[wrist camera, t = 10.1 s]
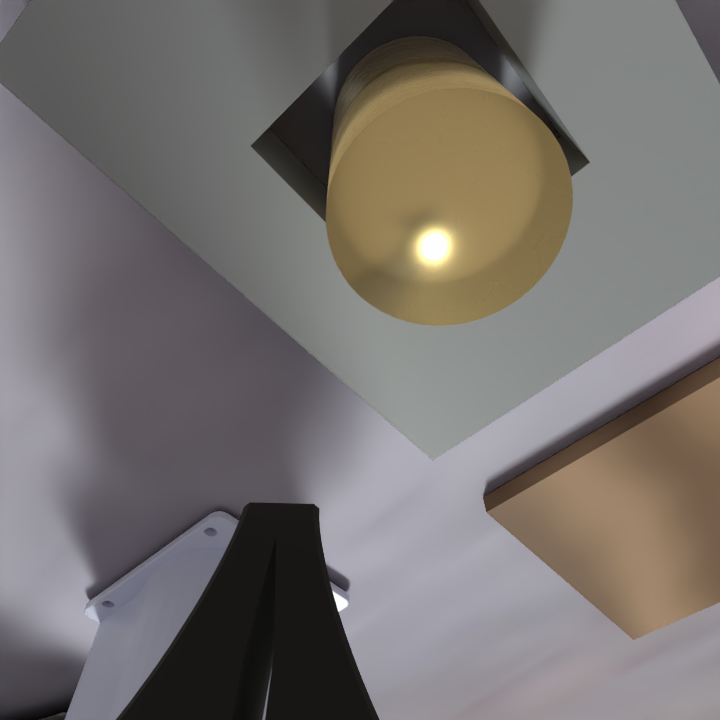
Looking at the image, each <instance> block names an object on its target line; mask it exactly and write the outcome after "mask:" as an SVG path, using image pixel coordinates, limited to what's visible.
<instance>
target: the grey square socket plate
mask: <svg viewBox="0 0 720 720" xmlns="http://www.w3.org/2000/svg"><path fill="white" fill-rule="evenodd" d="M392 1H393V0H31V1H30V2H29V3H28V5H27V6H26V8H25V9H24V11H23V12H22V13H21V15H20V16H19V18H18V19H17V20H16V22H15V23H14V25H13V26H12V28H11V29H10V30H9V32H8V33H7V35H6V36H5V38H4V39H3V40H2V42H1V43H0V83H1V84H2V85H3V86H4V87H6V88H7V89H8V90H9V91H10V92H11V93H13V94H14V95H15V96H16V97H17V98H18V99H19V100H21V101H22V102H23V103H24V104H25V105H26V106H27V107H29V108H30V109H31V110H32V111H33V112H34V113H35V114H37V115H38V116H39V117H40V118H41V119H42V120H43V121H45V122H46V123H47V124H48V125H49V126H50V127H51V128H53V129H54V130H55V131H56V132H57V133H58V134H59V135H61V136H62V137H63V138H64V139H65V140H66V141H67V142H69V143H70V144H71V145H72V146H73V147H74V148H75V149H77V150H78V151H79V152H80V153H81V154H82V155H83V156H85V157H86V158H87V159H88V160H89V161H90V162H91V163H93V164H94V165H95V166H96V167H97V168H98V169H100V170H101V171H102V172H103V173H104V174H105V175H106V176H108V177H109V178H110V179H111V180H112V181H113V182H114V183H116V184H117V185H118V186H119V187H120V188H121V189H122V190H124V191H125V192H126V193H127V194H128V195H129V196H130V197H132V198H133V199H134V200H135V201H136V202H137V203H138V204H140V205H141V206H142V207H143V208H144V209H145V210H146V211H148V212H149V213H150V214H151V215H152V216H153V217H154V218H156V219H157V220H158V221H159V222H160V223H161V224H162V225H164V226H165V227H166V228H167V229H168V230H169V231H170V232H172V233H173V234H174V235H175V236H176V237H177V238H179V239H180V240H181V241H182V242H183V243H184V244H185V245H187V246H188V247H189V248H190V249H191V250H192V251H193V252H195V253H196V254H197V255H198V256H199V257H200V258H201V259H203V260H204V261H205V262H206V263H207V264H208V265H209V266H211V267H212V268H213V269H214V270H215V271H216V272H217V273H219V274H220V275H221V276H222V277H223V278H224V279H225V280H227V281H228V282H229V283H230V284H231V285H232V286H233V287H235V288H236V289H237V290H238V291H239V292H240V293H241V294H243V295H244V296H245V297H246V298H247V299H248V300H249V301H251V302H252V303H253V304H254V305H255V306H256V307H257V308H259V309H260V310H261V311H262V312H263V313H264V314H266V315H267V316H268V317H269V318H270V319H271V320H272V321H274V322H275V323H276V324H277V325H278V326H279V327H280V328H282V329H283V330H284V331H285V332H286V333H287V334H288V335H290V336H291V337H292V338H293V339H294V340H295V341H296V342H298V343H299V344H300V345H301V346H302V347H303V348H304V349H306V350H307V351H308V352H309V353H310V354H311V355H312V356H314V357H315V358H316V359H317V360H318V361H319V362H320V363H322V364H323V365H324V366H325V367H326V368H327V369H328V370H330V371H331V372H332V373H333V374H334V375H335V376H336V377H338V378H339V379H340V380H341V381H342V382H343V383H344V384H346V385H347V386H348V387H349V388H350V389H351V390H353V391H354V392H355V393H356V394H357V395H358V396H359V397H361V398H362V399H363V400H364V401H365V402H366V403H367V404H369V405H370V406H371V407H372V408H373V409H374V410H375V411H377V412H378V413H379V414H380V415H381V416H382V417H383V418H385V419H386V420H387V421H388V422H389V423H390V424H391V425H393V426H394V427H395V428H396V429H397V430H398V431H399V432H401V433H402V434H403V435H404V436H405V437H406V438H407V439H409V440H410V441H411V442H412V443H413V444H414V445H415V446H417V447H418V448H419V449H420V450H421V451H422V452H423V453H425V454H426V455H427V456H428V457H429V458H430V459H431V460H434V459H436V458H437V457H439V456H441V455H442V454H444V453H445V452H447V451H448V450H450V449H451V448H453V447H455V446H456V445H458V444H459V443H461V442H462V441H464V440H465V439H467V438H469V437H470V436H472V435H473V434H475V433H476V432H478V431H480V430H481V429H483V428H484V427H486V426H487V425H489V424H490V423H492V422H494V421H495V420H497V419H498V418H500V417H501V416H503V415H504V414H506V413H508V412H509V411H511V410H512V409H514V408H515V407H517V406H519V405H520V404H522V403H523V402H525V401H526V400H528V399H529V398H531V397H533V396H534V395H536V394H537V393H539V392H540V391H542V390H543V389H545V388H547V387H548V386H550V385H551V384H553V383H554V382H556V381H558V380H559V379H561V378H562V377H564V376H565V375H567V374H568V373H570V372H572V371H573V370H575V369H576V368H578V367H579V366H581V365H583V364H584V363H586V362H587V361H589V360H590V359H592V358H593V357H595V356H597V355H598V354H600V353H601V352H603V351H604V350H606V349H607V348H609V347H611V346H612V345H614V344H615V343H617V342H618V341H620V340H622V339H623V338H625V337H626V336H628V335H629V334H631V333H632V332H634V331H636V330H637V329H639V328H640V327H642V326H643V325H645V324H646V323H648V322H650V321H651V320H653V319H654V318H656V317H657V316H659V315H661V314H662V313H664V312H665V311H667V310H668V309H670V308H671V307H673V306H675V305H676V304H678V303H679V302H681V301H682V300H684V299H685V298H687V297H689V296H690V295H692V294H693V293H695V292H696V291H698V290H700V289H701V288H703V287H704V286H706V285H707V284H709V283H710V282H712V281H714V280H715V279H717V278H718V277H720V84H719V82H718V80H717V78H716V76H715V74H714V72H713V70H712V68H711V67H710V65H709V63H708V61H707V59H706V57H705V55H704V53H703V51H702V50H701V48H700V46H699V44H698V42H697V40H696V38H695V36H694V34H693V33H692V31H691V29H690V27H689V25H688V23H687V21H686V19H685V17H684V15H683V14H682V12H681V10H680V8H679V6H678V4H677V2H676V0H466V1H467V2H468V4H469V5H470V7H471V8H472V9H473V11H474V12H475V14H476V15H477V17H478V18H479V19H480V21H481V22H482V24H483V25H484V27H485V28H486V30H487V31H488V32H489V34H490V35H491V37H492V38H493V40H494V41H495V42H496V44H497V45H498V47H499V48H500V50H501V51H502V53H503V54H504V55H505V57H506V58H507V60H508V61H509V63H510V64H511V65H512V67H513V68H514V70H515V71H516V73H517V74H518V75H519V77H520V78H521V80H522V81H523V83H524V84H525V86H526V87H527V88H528V90H529V91H530V93H531V94H532V96H533V97H534V98H535V100H536V101H537V103H538V104H539V106H540V107H541V108H542V110H543V111H544V113H545V114H546V116H547V117H548V119H549V120H550V121H551V123H552V124H553V126H554V127H555V129H556V130H557V131H558V133H559V134H560V137H559V138H558V139H557V141H558V143H559V144H560V146H561V148H562V150H563V153H564V155H565V157H566V160H567V163H568V166H569V170H570V174H571V180H572V188H573V207H572V213H571V220H570V224H569V228H568V231H567V235H566V238H565V240H564V242H563V245H562V247H561V249H560V252H559V253H558V255H557V257H556V258H555V260H554V262H553V263H552V265H551V266H550V268H549V269H548V270H547V272H546V273H545V274H544V276H543V277H542V278H541V279H540V280H539V281H538V282H537V283H536V284H535V285H534V287H533V288H532V289H530V290H529V291H528V292H527V293H526V294H524V295H523V296H522V297H521V298H520V299H518V300H517V301H515V302H514V303H512V304H511V305H509V306H508V307H506V308H504V309H502V310H500V311H498V312H496V313H494V314H492V315H489V316H487V317H484V318H482V319H479V320H475V321H471V322H468V323H463V324H456V325H445V326H432V325H421V324H416V323H410V322H406V321H403V320H400V319H397V318H394V317H392V316H390V315H388V314H385V313H383V312H381V311H380V310H378V309H377V308H375V307H373V306H372V305H370V304H369V303H368V302H366V301H365V300H364V299H363V298H362V297H360V296H359V295H358V294H357V293H356V292H355V291H354V289H353V288H352V287H351V286H350V285H349V284H348V282H347V281H346V279H345V278H344V277H343V275H342V274H341V272H340V270H339V268H338V266H337V264H336V262H335V260H334V258H333V255H332V252H331V249H330V246H329V241H328V236H327V229H326V204H327V192H328V189H327V188H326V187H325V186H324V185H323V184H322V183H321V182H320V181H319V180H318V179H317V178H316V177H315V176H314V175H313V174H312V173H311V172H310V171H309V169H308V168H307V167H306V166H305V165H304V164H303V163H302V162H301V161H300V160H299V159H298V158H297V157H296V156H295V155H294V154H293V153H292V152H291V151H290V150H289V148H288V147H287V146H286V145H285V144H284V143H283V142H282V141H281V140H280V139H279V138H278V137H277V136H276V135H275V134H274V133H273V132H272V131H271V130H270V129H269V127H270V126H271V125H272V124H273V122H274V121H275V120H276V119H277V118H278V117H279V116H280V115H281V114H282V113H283V112H284V111H285V110H286V109H287V108H288V107H289V106H290V105H291V104H292V103H293V102H294V101H295V100H296V99H297V98H298V97H299V96H300V95H301V94H302V93H303V92H304V91H305V90H306V89H307V88H308V87H309V86H310V85H311V84H312V83H313V82H314V81H315V80H316V79H317V78H318V77H319V76H320V75H321V74H322V73H323V72H324V71H325V70H326V69H327V68H328V66H329V65H330V64H331V63H332V62H333V61H334V60H335V59H336V58H337V57H338V56H339V55H340V54H341V53H342V52H343V51H344V50H345V49H346V48H347V47H348V46H349V45H350V44H351V43H352V42H353V41H354V40H355V39H356V38H357V37H358V36H359V35H360V34H361V33H362V32H363V31H364V30H365V29H366V28H367V27H368V26H369V25H370V24H371V23H372V22H373V21H374V20H375V19H376V18H377V17H378V16H379V15H380V14H381V13H382V12H383V10H384V9H385V8H386V7H387V6H388V5H389V4H390V3H391V2H392Z"/></svg>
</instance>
